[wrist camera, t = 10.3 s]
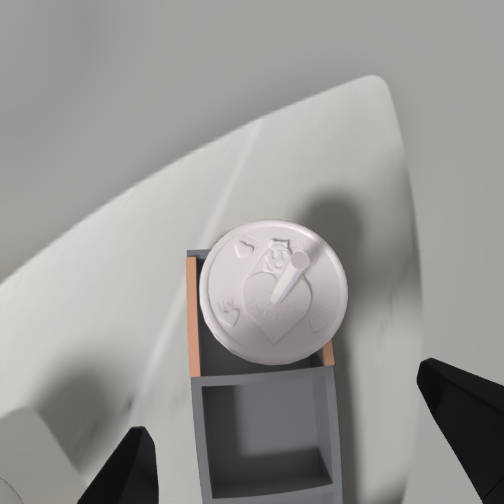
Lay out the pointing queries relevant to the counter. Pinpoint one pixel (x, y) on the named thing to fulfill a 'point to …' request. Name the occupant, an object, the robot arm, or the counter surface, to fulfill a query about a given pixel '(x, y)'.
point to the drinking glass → (8, 494)
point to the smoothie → (273, 291)
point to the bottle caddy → (260, 419)
